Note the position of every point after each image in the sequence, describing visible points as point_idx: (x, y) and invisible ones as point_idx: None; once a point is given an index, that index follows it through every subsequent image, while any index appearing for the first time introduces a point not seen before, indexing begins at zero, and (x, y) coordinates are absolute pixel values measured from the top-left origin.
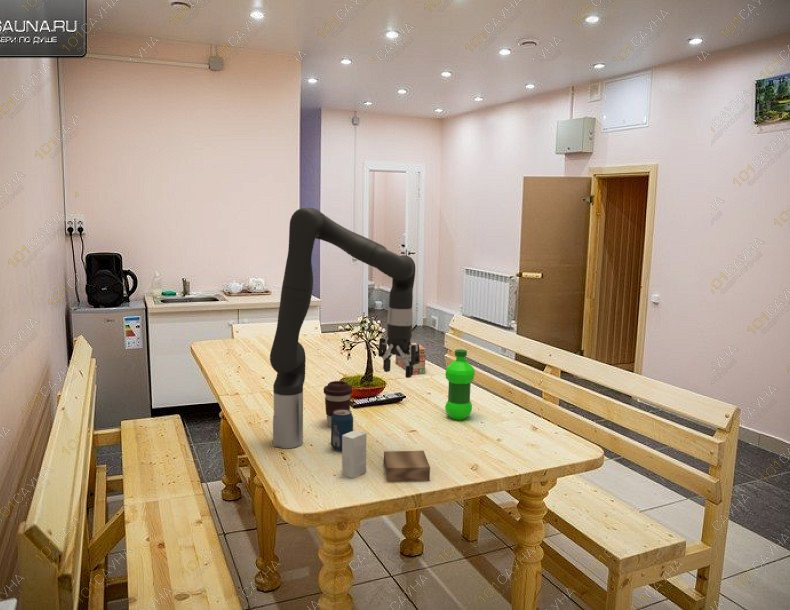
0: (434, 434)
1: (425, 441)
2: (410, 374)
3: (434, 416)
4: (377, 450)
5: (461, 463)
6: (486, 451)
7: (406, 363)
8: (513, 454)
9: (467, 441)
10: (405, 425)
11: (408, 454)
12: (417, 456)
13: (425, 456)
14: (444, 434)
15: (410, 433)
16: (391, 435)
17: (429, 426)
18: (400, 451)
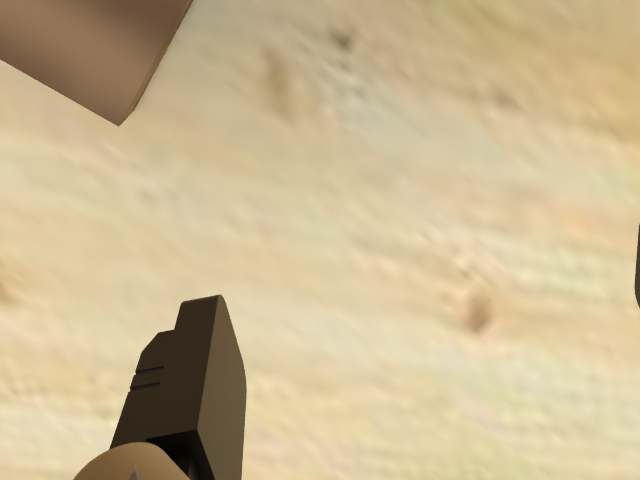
0: (382, 364)
1: (345, 286)
2: (146, 368)
3: (529, 475)
4: (410, 18)
5: (42, 256)
6: (103, 414)
7: (159, 477)
8: (23, 471)
9: None
10: (548, 330)
11: (112, 11)
12: (59, 37)
13: (36, 77)
14: (354, 395)
15: (462, 291)
16: (507, 206)
17: (464, 400)
18: (177, 1)
